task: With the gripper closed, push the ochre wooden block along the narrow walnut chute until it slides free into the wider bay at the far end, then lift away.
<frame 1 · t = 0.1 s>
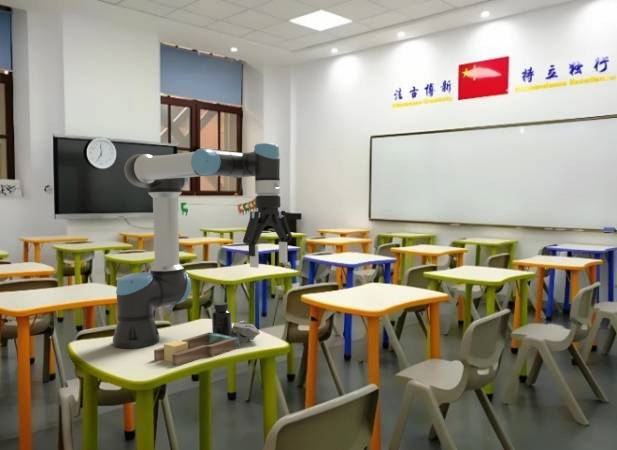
hand: (269, 265, 153), 28 cm above the table, fingers open, 13 cm apart
block: (176, 359, 153), on the table
mineral specimen: (244, 342, 171), on the table
supplement bottle: (222, 337, 178), on the table
chute: (194, 353, 158), on the table
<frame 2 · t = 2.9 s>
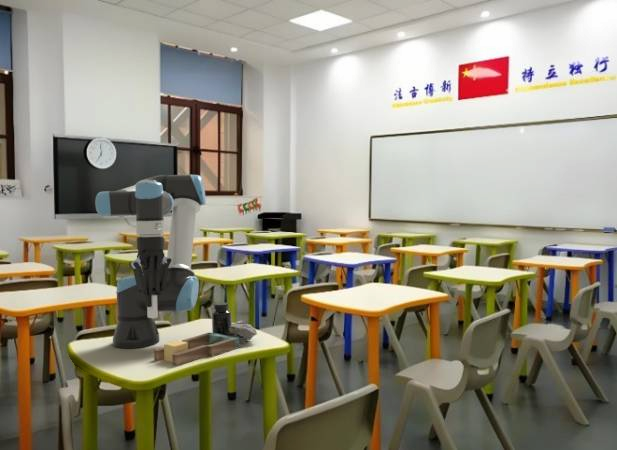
hand: (152, 317, 145), 14 cm above the table, fingers closed
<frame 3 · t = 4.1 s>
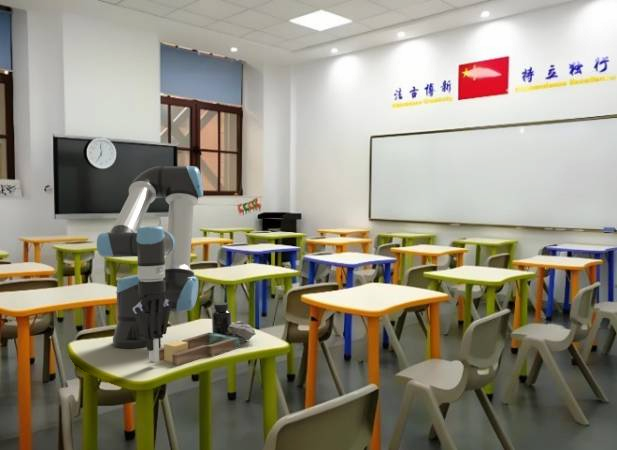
hand: (154, 360, 146), 2 cm above the table, fingers closed
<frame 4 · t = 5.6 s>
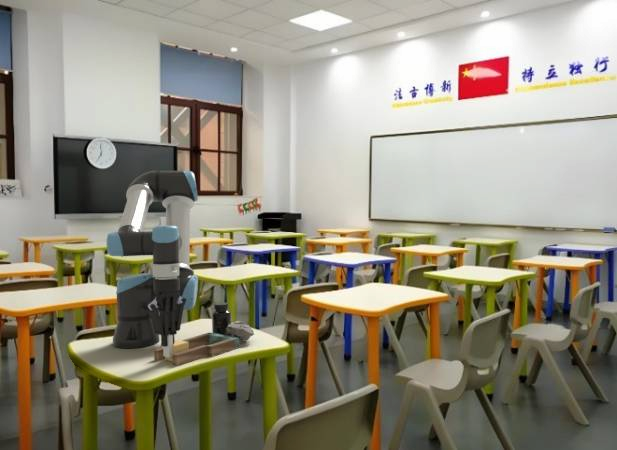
hand: (168, 356, 150), 2 cm above the table, fingers closed
block: (177, 359, 153), on the table, touching gripper
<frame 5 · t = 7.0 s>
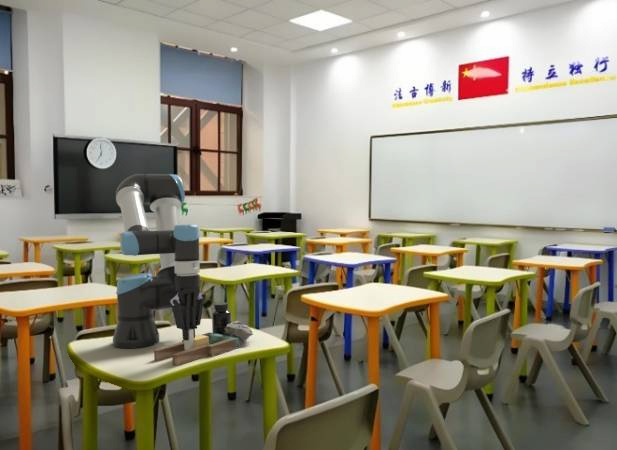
hand: (189, 349, 157), 2 cm above the table, fingers closed
block: (197, 352, 159), on the table, touching gripper
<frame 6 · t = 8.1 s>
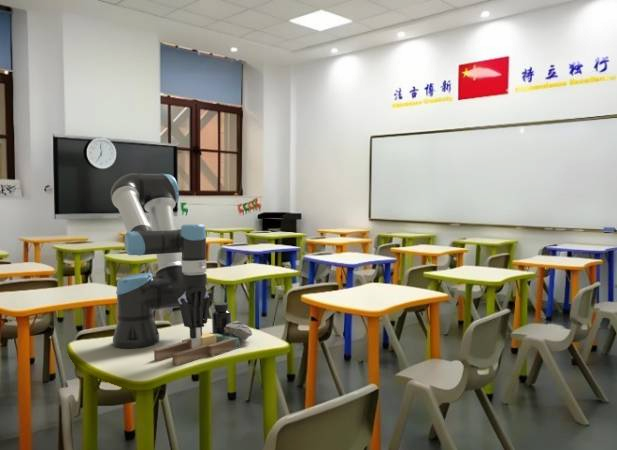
hand: (196, 347, 159), 2 cm above the table, fingers closed
block: (205, 350, 161), on the table, touching gripper
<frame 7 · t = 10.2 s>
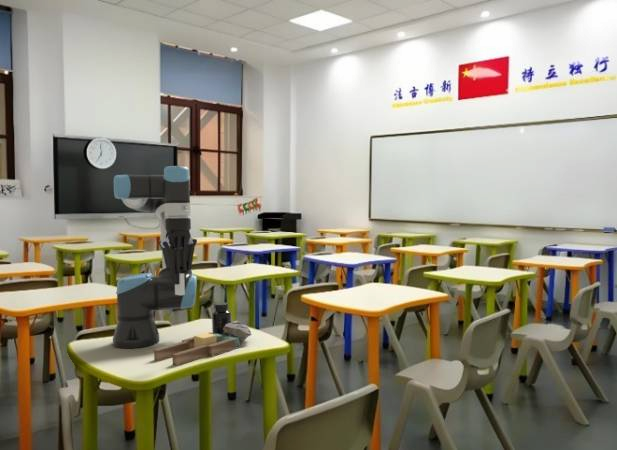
hand: (179, 294, 154), 19 cm above the table, fingers closed
block: (205, 350, 161), on the table
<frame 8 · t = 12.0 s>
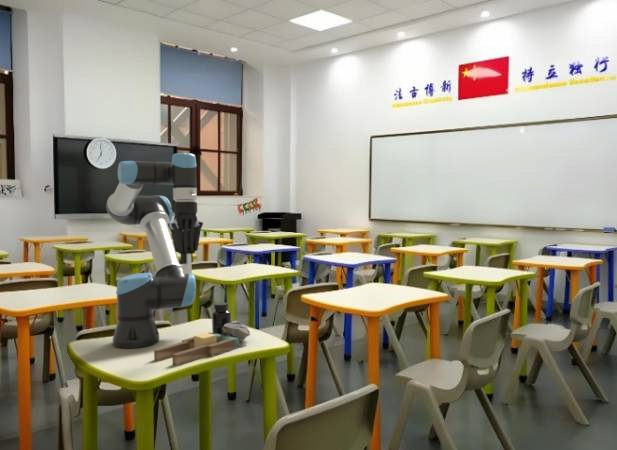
hand: (187, 273, 165), 24 cm above the table, fingers closed
at the end: block inside the target area (1.8 cm from its centre), on the table; block tilted 0°; block touching table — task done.
